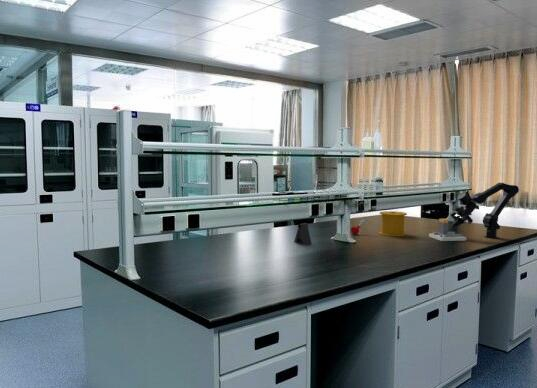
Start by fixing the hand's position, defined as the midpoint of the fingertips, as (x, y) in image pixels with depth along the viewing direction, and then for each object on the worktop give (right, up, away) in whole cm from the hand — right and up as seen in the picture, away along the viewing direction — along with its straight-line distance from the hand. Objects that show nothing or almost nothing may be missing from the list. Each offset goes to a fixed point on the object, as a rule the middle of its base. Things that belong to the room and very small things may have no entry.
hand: (452, 226), depth 286 cm
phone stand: (-99, -9, -18) cm, 101 cm away
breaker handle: (-6, -5, -1) cm, 8 cm away
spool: (-35, -6, +16) cm, 39 cm away
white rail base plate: (-3, -8, 0) cm, 8 cm away
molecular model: (-61, -6, +12) cm, 63 cm away
